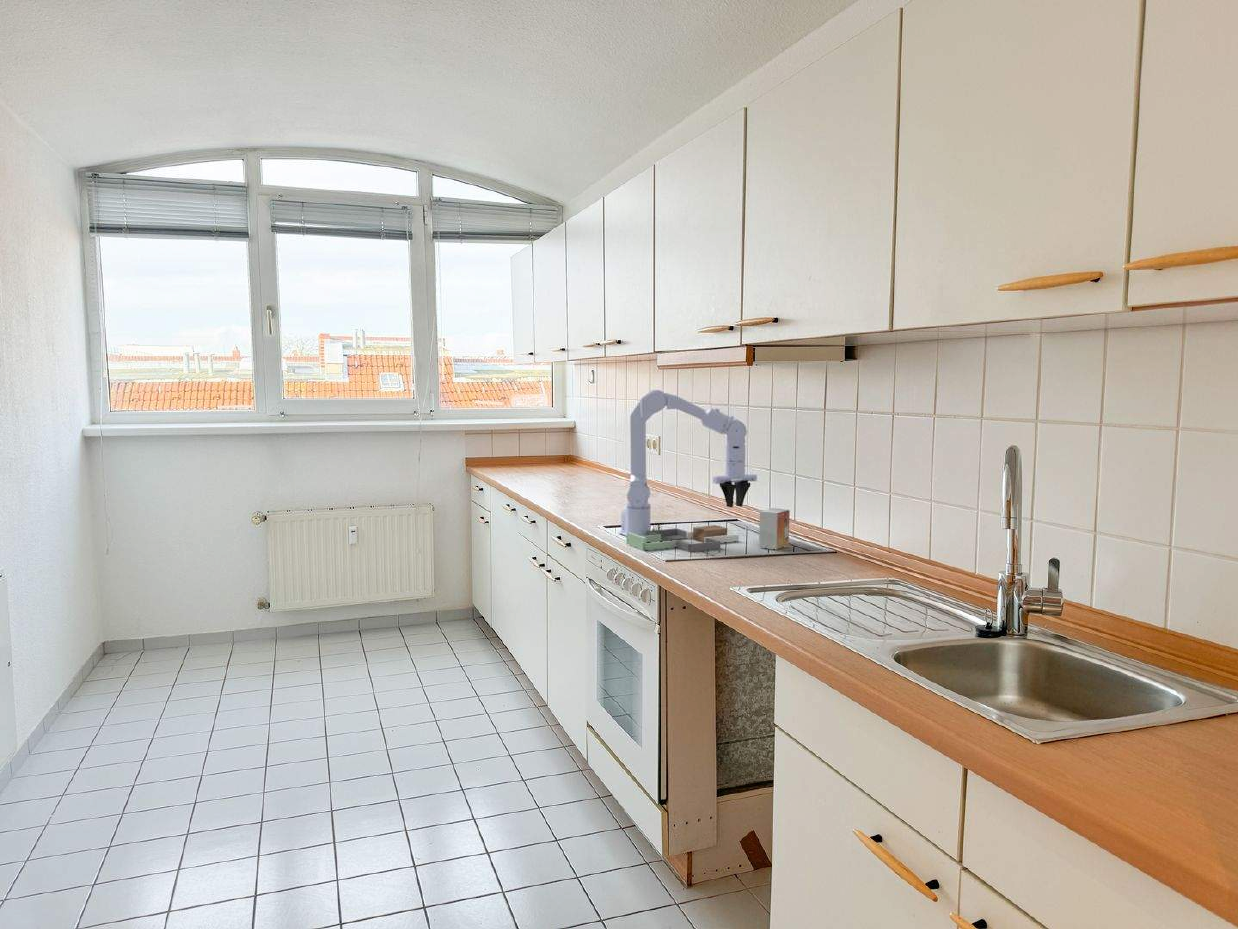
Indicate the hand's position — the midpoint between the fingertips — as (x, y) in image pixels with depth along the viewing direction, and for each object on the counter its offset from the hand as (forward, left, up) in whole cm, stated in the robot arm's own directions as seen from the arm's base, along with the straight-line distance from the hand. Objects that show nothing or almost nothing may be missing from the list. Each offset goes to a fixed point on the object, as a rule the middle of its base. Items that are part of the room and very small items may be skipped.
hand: (734, 506), depth 250 cm
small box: (+16, +2, -10) cm, 19 cm away
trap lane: (0, -18, -9) cm, 20 cm away
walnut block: (0, -9, -10) cm, 13 cm away
